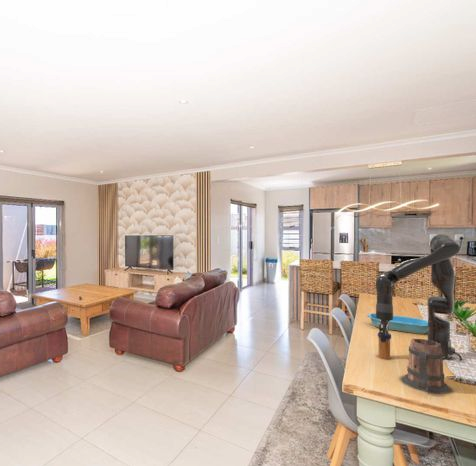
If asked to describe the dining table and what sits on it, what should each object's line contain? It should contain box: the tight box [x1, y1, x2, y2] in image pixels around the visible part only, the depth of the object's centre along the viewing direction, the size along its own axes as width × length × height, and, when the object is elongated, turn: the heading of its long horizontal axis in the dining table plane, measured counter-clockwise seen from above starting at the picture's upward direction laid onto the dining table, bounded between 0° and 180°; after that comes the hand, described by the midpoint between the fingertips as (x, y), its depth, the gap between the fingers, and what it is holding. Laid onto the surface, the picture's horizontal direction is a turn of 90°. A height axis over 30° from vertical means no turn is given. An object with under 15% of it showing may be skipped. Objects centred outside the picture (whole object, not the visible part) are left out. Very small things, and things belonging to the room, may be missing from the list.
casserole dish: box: [366, 312, 428, 335], centre depth 236 cm, size 37×22×7 cm, turn 54°
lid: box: [377, 331, 392, 340], centre depth 185 cm, size 6×6×2 cm
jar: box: [378, 337, 391, 360], centre depth 185 cm, size 5×5×13 cm
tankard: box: [401, 338, 452, 394], centre depth 152 cm, size 24×17×20 cm
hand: (384, 340), depth 185 cm, fingers closed on lid, 5 cm apart
